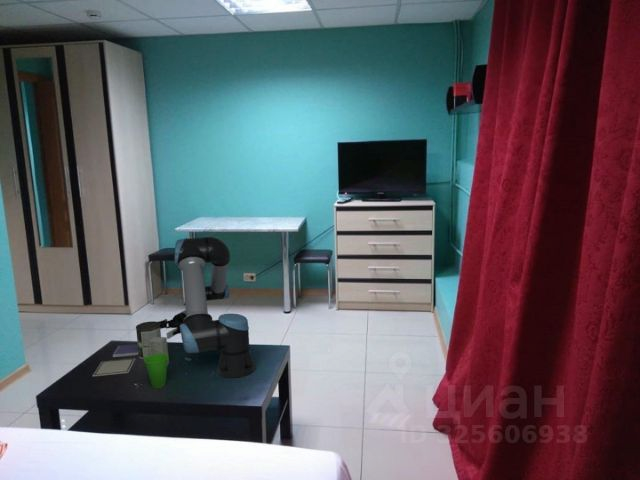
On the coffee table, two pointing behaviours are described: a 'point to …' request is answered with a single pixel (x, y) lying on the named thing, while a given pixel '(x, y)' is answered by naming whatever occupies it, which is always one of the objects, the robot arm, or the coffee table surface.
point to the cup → (157, 369)
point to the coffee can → (146, 336)
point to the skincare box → (158, 346)
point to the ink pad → (126, 350)
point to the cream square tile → (114, 367)
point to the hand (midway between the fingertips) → (154, 334)
